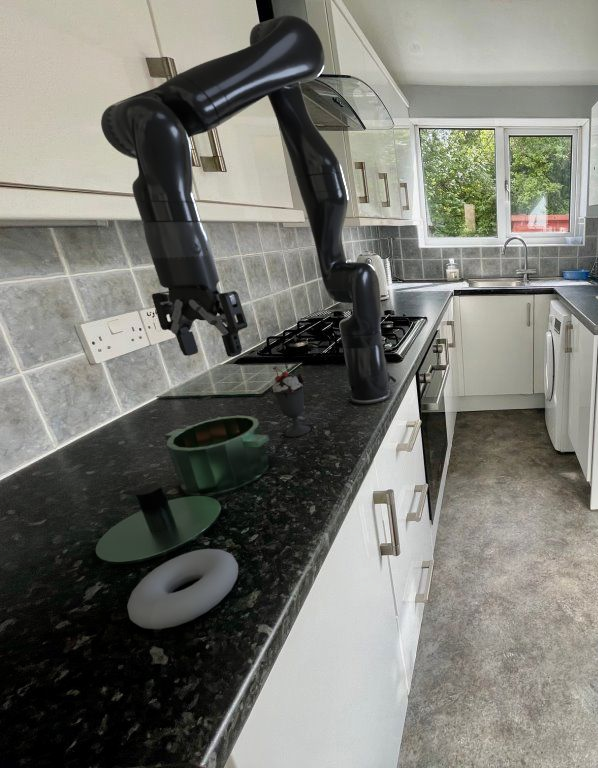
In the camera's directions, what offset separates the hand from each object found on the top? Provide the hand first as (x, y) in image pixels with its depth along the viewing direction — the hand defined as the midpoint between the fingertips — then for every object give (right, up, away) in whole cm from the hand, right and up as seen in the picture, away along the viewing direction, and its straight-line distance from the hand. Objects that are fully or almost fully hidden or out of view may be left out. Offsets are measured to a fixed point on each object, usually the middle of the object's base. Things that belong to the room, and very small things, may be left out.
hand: (212, 354), depth 68 cm
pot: (+1, -21, +3) cm, 21 cm away
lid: (+1, -25, -11) cm, 28 cm away
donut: (+13, -30, -22) cm, 39 cm away
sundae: (+5, -15, +18) cm, 24 cm away
